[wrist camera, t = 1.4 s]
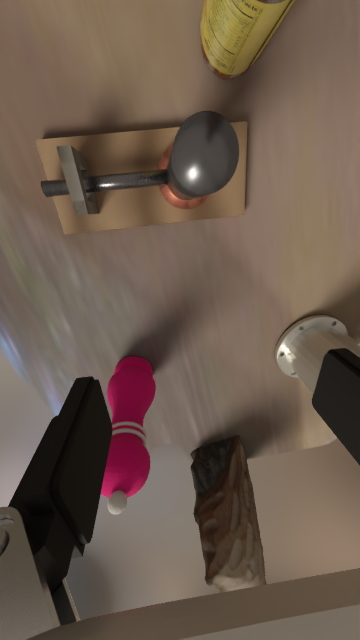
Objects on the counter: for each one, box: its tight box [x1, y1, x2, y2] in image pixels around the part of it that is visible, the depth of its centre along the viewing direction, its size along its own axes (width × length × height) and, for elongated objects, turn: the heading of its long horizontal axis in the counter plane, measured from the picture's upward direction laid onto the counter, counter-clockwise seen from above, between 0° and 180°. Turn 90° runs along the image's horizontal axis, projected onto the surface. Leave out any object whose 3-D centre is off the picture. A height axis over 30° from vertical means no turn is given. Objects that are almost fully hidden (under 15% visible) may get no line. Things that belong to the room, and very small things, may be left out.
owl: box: [191, 436, 266, 593], centre depth 42 cm, size 13×13×20 cm
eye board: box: [35, 121, 247, 234], centre depth 23 cm, size 22×9×6 cm, turn 95°
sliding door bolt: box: [41, 111, 239, 209], centre depth 20 cm, size 18×6×11 cm, turn 95°
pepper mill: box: [101, 356, 156, 514], centre depth 29 cm, size 7×7×20 cm
